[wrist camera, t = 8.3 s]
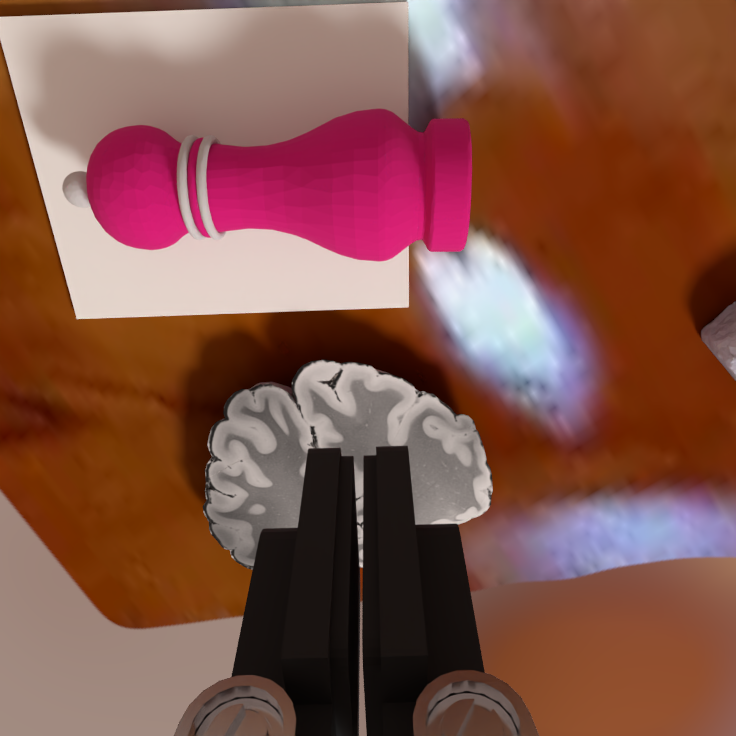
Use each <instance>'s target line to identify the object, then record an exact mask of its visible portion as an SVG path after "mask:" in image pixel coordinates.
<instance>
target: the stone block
mask: <svg viewBox="0 0 736 736" xmlns="http://www.w3.org/2000/svg"><path fill="white" fill-rule="evenodd" d="M701 338H702V341H703V342H704V343H705V344H706V345H707V346H708V348H709V349H710V350H711V352H712V353H713V354H714V355H715V356H716V358H717V359H718V360H719V361H720V362H721V363H722V365H723V366H724V367H725V368H726V370H727V371H728V372H729V373H730V374H731V376H732V377H733V378H734V379H735V381H736V302H734V303H733V304H731V305H729V306H728V307H727V308H726V309H725V310H724V311H723V312H722V313H721V314H720V315H719V316H718V317H716V318H715V319H714V320H713V321H712V322H710V323H709V324H708V325H706V326H705V327H704V328H703V329H702V330H701Z"/></svg>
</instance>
